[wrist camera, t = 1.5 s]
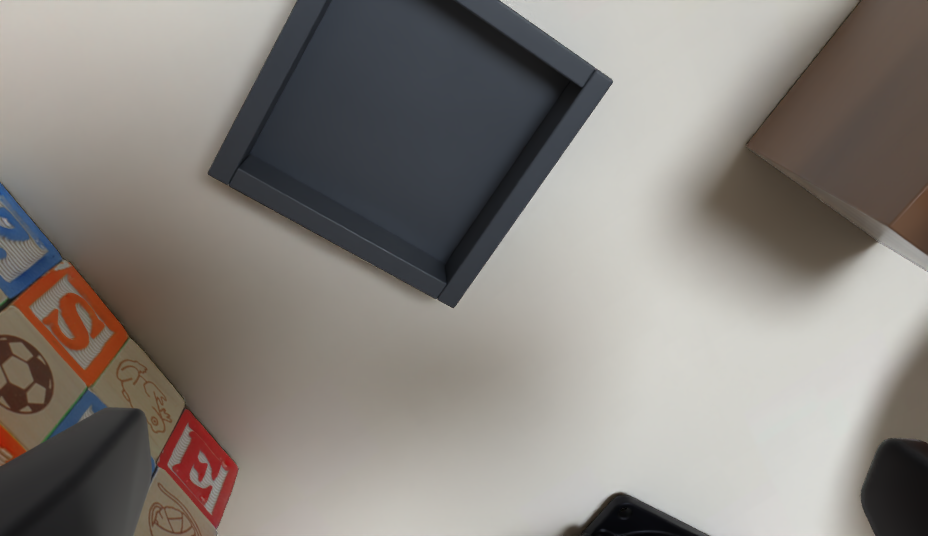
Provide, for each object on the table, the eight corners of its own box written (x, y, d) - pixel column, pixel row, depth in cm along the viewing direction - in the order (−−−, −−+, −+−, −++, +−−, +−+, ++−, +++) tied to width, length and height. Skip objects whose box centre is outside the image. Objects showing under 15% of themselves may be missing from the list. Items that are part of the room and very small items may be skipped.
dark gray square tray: (596, 70, 20) (614, 81, 18) (450, 280, 22) (454, 309, 20) (357, -98, 18) (350, -104, 16) (225, 155, 20) (206, 174, 18)
